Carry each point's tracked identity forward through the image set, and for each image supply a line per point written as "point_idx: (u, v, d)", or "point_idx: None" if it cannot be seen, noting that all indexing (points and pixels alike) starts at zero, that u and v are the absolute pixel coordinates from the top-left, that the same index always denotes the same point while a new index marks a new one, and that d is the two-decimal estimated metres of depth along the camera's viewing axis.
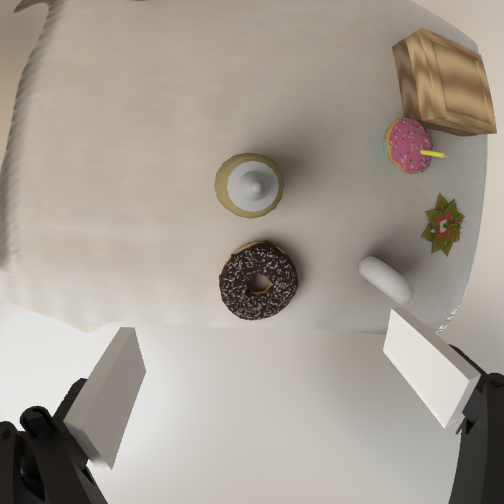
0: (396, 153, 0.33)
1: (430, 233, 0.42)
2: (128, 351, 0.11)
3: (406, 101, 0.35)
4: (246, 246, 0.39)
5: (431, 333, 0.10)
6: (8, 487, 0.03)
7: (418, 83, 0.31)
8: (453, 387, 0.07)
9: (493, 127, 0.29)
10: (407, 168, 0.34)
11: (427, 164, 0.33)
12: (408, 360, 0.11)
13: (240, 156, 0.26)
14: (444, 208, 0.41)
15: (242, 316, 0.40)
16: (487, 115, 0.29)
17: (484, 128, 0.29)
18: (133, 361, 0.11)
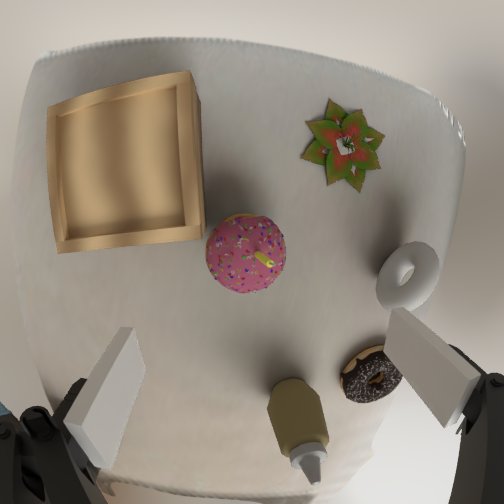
0: (263, 286, 0.29)
1: (355, 173, 0.33)
2: (128, 351, 0.11)
3: None
4: (342, 389, 0.39)
5: (431, 333, 0.10)
6: (8, 487, 0.03)
7: None
8: (453, 387, 0.07)
9: (179, 80, 0.20)
10: (281, 267, 0.29)
11: (272, 231, 0.28)
12: (408, 360, 0.11)
13: (282, 453, 0.29)
14: (321, 146, 0.31)
15: (396, 386, 0.39)
16: (158, 90, 0.21)
17: (189, 110, 0.21)
18: (133, 361, 0.11)
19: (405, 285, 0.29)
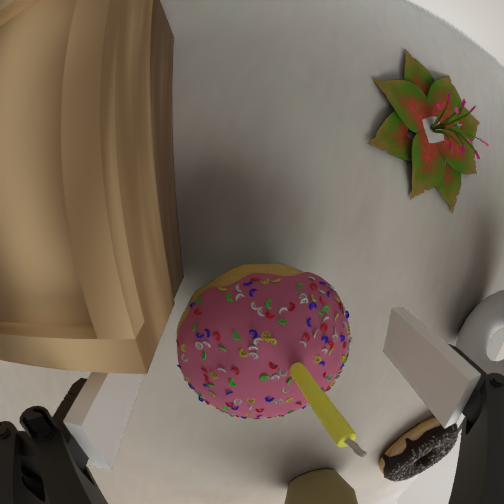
0: None
1: (448, 178, 0.16)
2: None
3: None
4: (382, 470, 0.23)
5: (431, 333, 0.10)
6: (8, 487, 0.03)
7: None
8: (453, 387, 0.07)
9: None
10: None
11: (330, 310, 0.11)
12: (408, 360, 0.11)
13: None
14: (401, 125, 0.15)
15: (443, 456, 0.22)
16: None
17: None
18: None
19: None
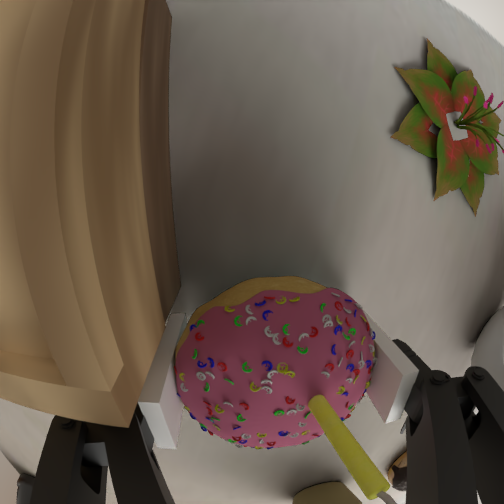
0: None
1: (471, 179, 0.14)
2: None
3: None
4: (390, 481, 0.21)
5: (375, 327, 0.11)
6: (64, 480, 0.04)
7: None
8: (390, 381, 0.09)
9: None
10: None
11: (356, 333, 0.09)
12: None
13: None
14: (424, 119, 0.13)
15: None
16: None
17: None
18: None
19: None
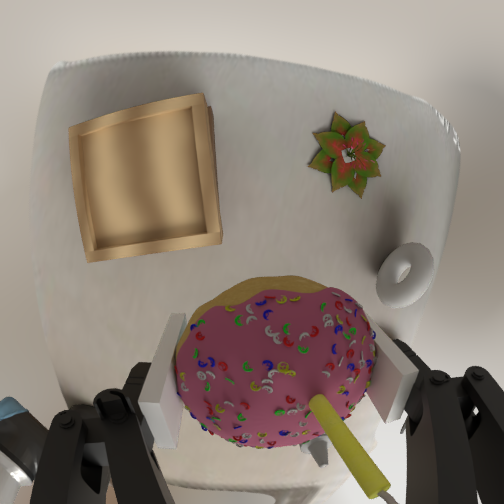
0: None
1: (358, 180, 0.36)
2: None
3: None
4: None
5: (375, 327, 0.11)
6: (64, 480, 0.04)
7: None
8: (390, 381, 0.09)
9: (194, 102, 0.23)
10: (358, 400, 0.10)
11: (356, 333, 0.09)
12: None
13: None
14: (327, 155, 0.35)
15: None
16: (175, 111, 0.24)
17: (205, 130, 0.24)
18: None
19: (402, 282, 0.32)
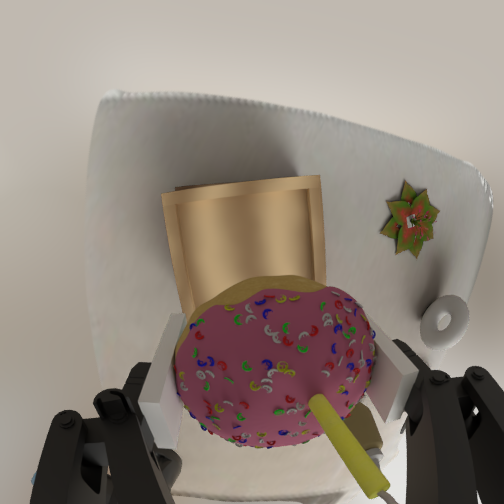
0: None
1: (416, 243, 0.38)
2: None
3: None
4: None
5: (375, 327, 0.11)
6: (64, 480, 0.04)
7: None
8: (390, 381, 0.09)
9: (311, 185, 0.26)
10: (358, 399, 0.10)
11: (356, 332, 0.09)
12: None
13: None
14: (395, 222, 0.37)
15: None
16: (289, 190, 0.26)
17: (321, 215, 0.26)
18: None
19: (445, 331, 0.34)
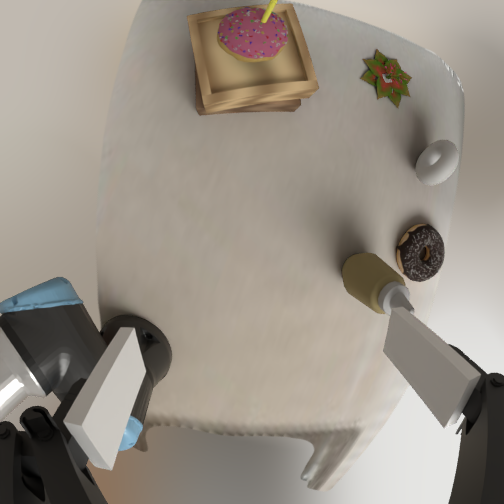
0: (269, 51, 0.25)
1: (394, 95, 0.40)
2: (128, 351, 0.11)
3: (272, 109, 0.39)
4: (399, 263, 0.47)
5: (431, 333, 0.10)
6: (8, 487, 0.03)
7: (268, 101, 0.35)
8: (453, 387, 0.07)
9: (287, 8, 0.27)
10: (284, 39, 0.25)
11: (275, 14, 0.24)
12: (408, 360, 0.11)
13: (370, 302, 0.36)
14: (372, 75, 0.39)
15: (440, 266, 0.46)
16: None
17: (298, 22, 0.28)
18: (133, 361, 0.11)
19: (438, 160, 0.36)
